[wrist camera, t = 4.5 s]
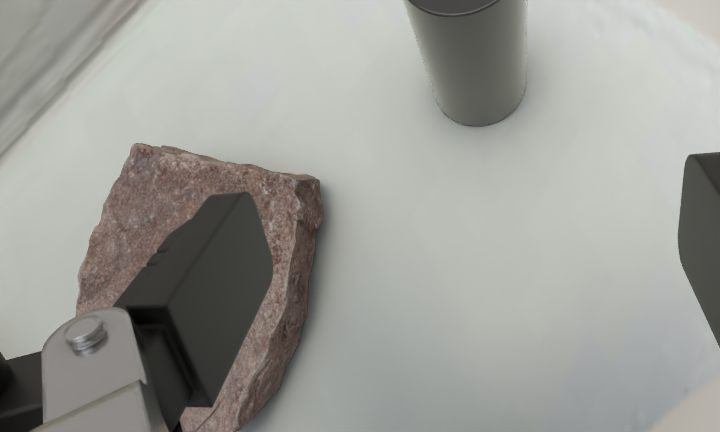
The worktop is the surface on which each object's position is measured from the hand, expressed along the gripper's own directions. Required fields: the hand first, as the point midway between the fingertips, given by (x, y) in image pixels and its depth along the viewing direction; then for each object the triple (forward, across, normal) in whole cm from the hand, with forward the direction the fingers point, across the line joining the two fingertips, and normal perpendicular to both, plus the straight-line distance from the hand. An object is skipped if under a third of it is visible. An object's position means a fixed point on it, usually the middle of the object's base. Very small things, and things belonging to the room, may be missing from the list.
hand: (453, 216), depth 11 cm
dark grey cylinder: (+16, 0, +3) cm, 17 cm away
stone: (+10, +12, +10) cm, 18 cm away
